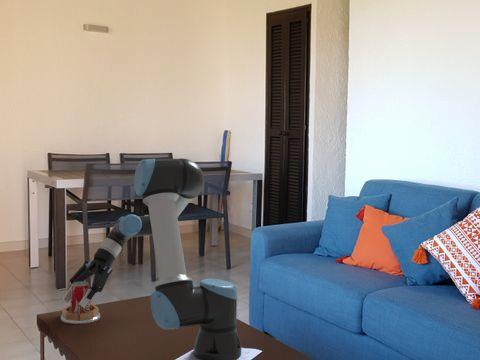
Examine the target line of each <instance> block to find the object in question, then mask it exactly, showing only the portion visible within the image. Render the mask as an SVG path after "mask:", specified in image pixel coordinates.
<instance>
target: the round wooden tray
mask: <svg viewBox="0 0 480 360" xmlns="http://www.w3.org/2000/svg"><path fill="white" fill-rule="evenodd" d="M61 310H62V314H61V316H60V321H61V322H62V323H65V324H68V325H87V324H91V322H92V323H94V321H95V322H97V321H99V320H100V318H101V312H99V311H100V310H99V306H96V305H95V304H93V303H91V304H90V312H85V313H71V304H69V305H67V306H66V307H64V308H63V309H61Z"/></svg>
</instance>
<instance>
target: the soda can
mask: <svg viewBox="0 0 480 360" xmlns="http://www.w3.org/2000/svg"><path fill="white" fill-rule="evenodd" d="M71 284H72V283H71ZM90 287H91V286H90V284H89V282H88V281H86V280H85V281H78V282H74V283H73V284H72V287H71V299H70V305H71V313H85V312H90V304H92V303H91V301H92V299H91V300H90V301H89V302H88V304H87V305H86V307H85V308H83V307H82V306H80V305H79V303H80V301H81V300H82V298H83V297H84V295H85V294H86V292H87V291H88V289H91V288H90Z"/></svg>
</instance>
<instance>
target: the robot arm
mask: <svg viewBox="0 0 480 360" xmlns="http://www.w3.org/2000/svg"><path fill="white" fill-rule="evenodd" d="M134 172H135V173H134V179H133V187H134V188H133V190H134V192H135V195H136V196H138V197H141V198H142V203H143V204H144V205H146V206H147V207H148V212H149V215H141V216H140V215H139V216H138V215H136V214H133V213H131V214H127V215H125V216H121V217H119V218H118V220H117V221H116V222H115V224H114V226H113V227H112V229H111V230H110V231H109V233H108V234H107V236H106V237H105V238H104V240H103V241H102V242H101V244H100V245H99V248H97V250H96V251H95V253H93V254H94V255H93V260H92V261H90V262H89V261H88V260H85V261H84V263H83V264H82V266H80V268H79V269H78V270H77V271H75V273H74V275H73V276H72V277H71V278H70V279H69V282H70V285H69V288H68V289H67V290H66V292H65V294H64V295H63V297H62V300H63V301H64V302H65V303H67V304H69V302H71V287H72V284H73V283H74V282H78V281H85V282H86V280H87V279H88V278H90V277H92V276H93V275H94V276H93V281H92V284H91V286H90V289H88V291H87V292H86V294H85V295H84V297H83V298H82V300H81V301H80V303H79V305H80V306H82V307H83V308H85V307H86V305H87V304H88V302H89V301H90V300H91V301H92V300H93V298H94V296H95V294H96V293H97V294H98V293H102V291H103V290H104V287H105V285H106V283H107V281H108V278H109V276H110V275H111V274H112V272H113V268H111V266H112V265H113V264H114V261H115V260H116V258H117V257H118V256H119V254H121V253H120V252H121V251H122V250H123V248H124V246H125V245H126V243H127V242H128V241H129V240H130V239H131V238H134V237H136V238H137V237H147V236H152V240H153V241H152V242H153V248H154V254H155V255H154V256H155V262H156V268H157V269H156V270H157V275H158V281H157V283H156V284H155V286H154V289H155V290H154V291H153V292H152V293H151V294H150V305H149V306H150V310H151V313H152V317H153V319H154V322H155V323H156V324H157V326H158V327H159V328H160V329H162V330H166V331H167V330H178V329H182V328H189V327H194V326H199V330H198V333H197V336H196V338H195V342H194V345H193V355H194V356H195V357H196V358H197V359H199V360H201V359H202V360H234V359H235V360H236V359H238V358H240V357H241V355H242V344H241V340H240V337H239V334H238V331H237V319H238V318H237V316H238V315H237V313H238V312H237V310H238V309H237V307H238V292H237V290H238V289H237V286H236V285H235V284H233V283H232V282H230V281H226V280H223V279H216V278H204V279H201V280H200V282H199V285H198V286H194V282H193V279H192V278H191V277H189V276H188V275H187V267H186V263H185V256H184V250H183V244H182V237H181V232H180V231H181V230H180V224H179V216H180V215H181V214H182V212H183V211H184V210H185V208H186V207H187V206H188V205H189V203H190V202H191V200H193V199H197V197H198V196H199V195H200V194H201V192H202V190H203V188H204V184H205V177H204V172H203V170H202V169H201V167H200V166H199V165H198V164H197V163H195V162H194V161H192V160H191V159H188V158H154V157H153V158H149V159H146V158H145V159H142V160H140V161H139V162H138V164H137V166H136V168H135V171H134Z"/></svg>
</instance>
